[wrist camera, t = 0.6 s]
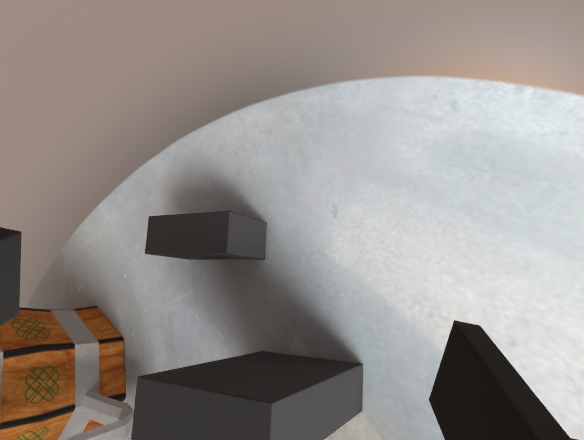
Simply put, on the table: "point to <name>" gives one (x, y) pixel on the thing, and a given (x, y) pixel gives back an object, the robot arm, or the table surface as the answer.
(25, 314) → the mug
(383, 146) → the table surface
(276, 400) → the dark grey rectangular block
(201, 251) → the pad
